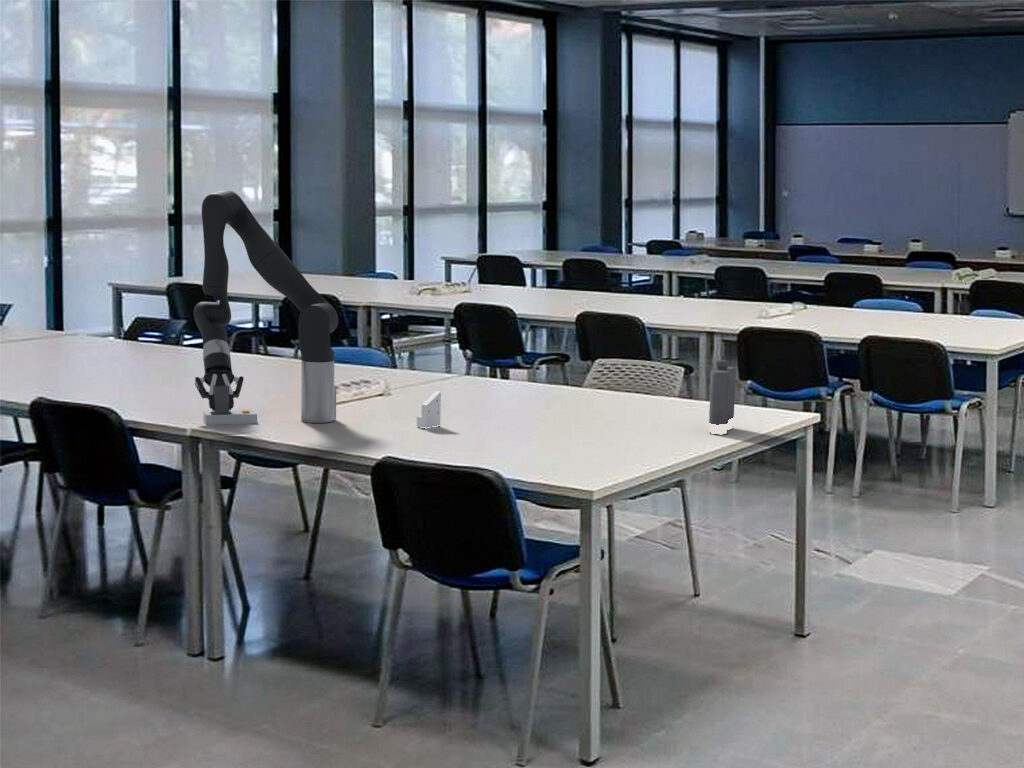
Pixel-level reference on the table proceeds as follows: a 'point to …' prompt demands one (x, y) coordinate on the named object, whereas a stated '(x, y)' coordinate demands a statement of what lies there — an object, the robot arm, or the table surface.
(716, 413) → the flask
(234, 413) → the power strip
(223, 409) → the plug
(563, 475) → the table surface
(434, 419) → the white angled block
